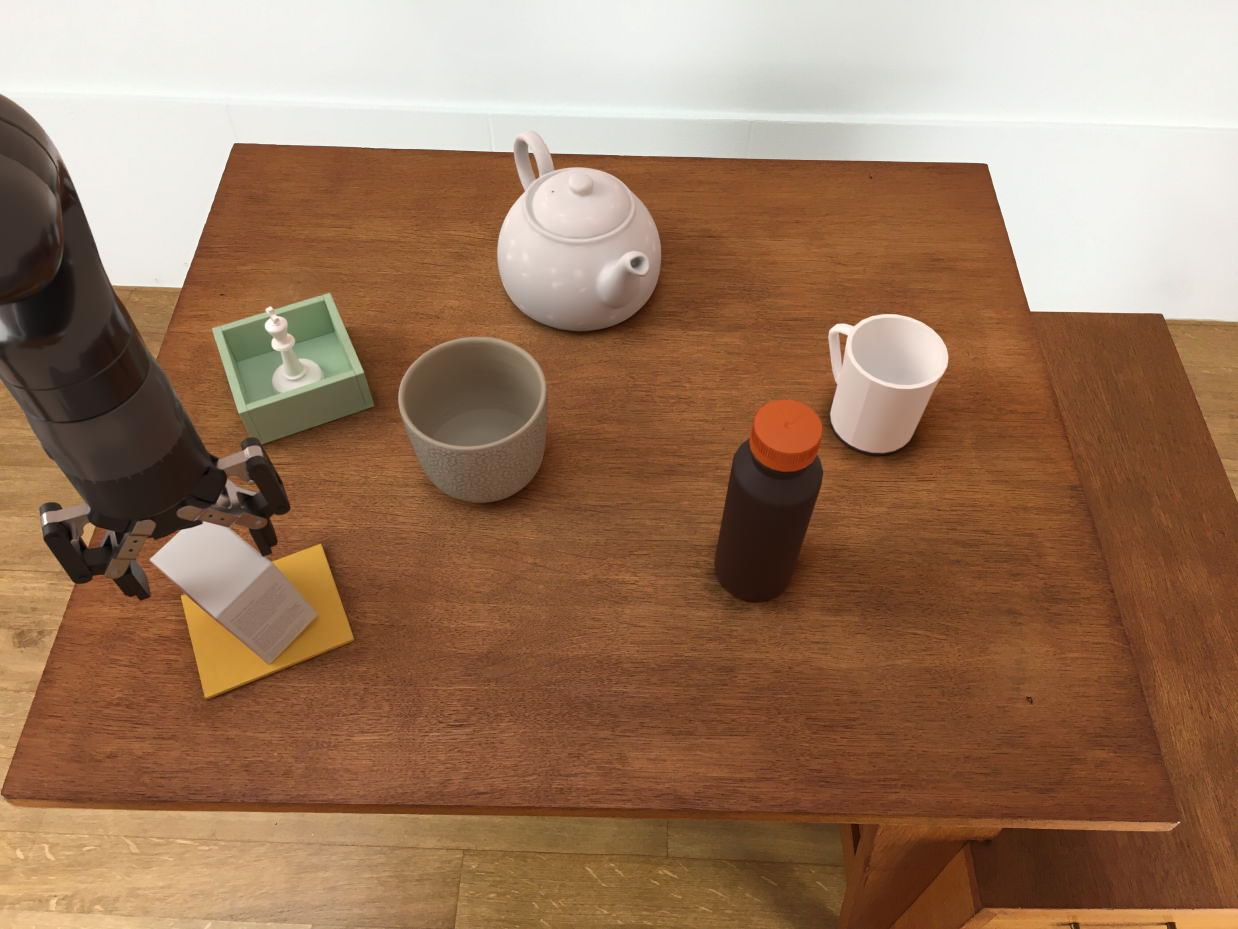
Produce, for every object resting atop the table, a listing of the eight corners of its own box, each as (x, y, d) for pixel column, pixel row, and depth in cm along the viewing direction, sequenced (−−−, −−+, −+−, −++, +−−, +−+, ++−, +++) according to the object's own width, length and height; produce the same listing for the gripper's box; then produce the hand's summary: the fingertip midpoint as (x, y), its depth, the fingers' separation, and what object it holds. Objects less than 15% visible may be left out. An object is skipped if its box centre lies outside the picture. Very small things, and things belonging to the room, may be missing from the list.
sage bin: (255, 447, 91) (238, 413, 86) (228, 362, 97) (211, 328, 93) (374, 406, 94) (364, 372, 89) (341, 327, 100) (330, 292, 96)
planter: (410, 427, 92) (389, 349, 83) (537, 403, 94) (530, 325, 85) (428, 534, 85) (407, 462, 76) (565, 506, 87) (560, 433, 78)
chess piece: (288, 408, 93) (257, 336, 84) (263, 378, 95) (231, 305, 87) (333, 384, 94) (307, 311, 86) (308, 355, 97) (281, 281, 89)
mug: (934, 418, 93) (966, 345, 85) (887, 476, 89) (916, 405, 81) (837, 364, 97) (859, 289, 89) (789, 416, 93) (807, 343, 85)
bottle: (728, 524, 86) (756, 377, 70) (801, 550, 85) (848, 405, 68) (702, 587, 82) (726, 446, 66) (778, 614, 81) (822, 477, 65)
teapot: (681, 238, 108) (690, 133, 97) (643, 357, 98) (648, 254, 87) (522, 210, 111) (513, 104, 100) (468, 322, 100) (451, 218, 89)
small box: (206, 611, 80) (145, 558, 71) (257, 562, 82) (203, 504, 73) (269, 668, 77) (213, 620, 68) (321, 615, 79) (273, 562, 70)
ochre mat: (206, 700, 76) (204, 698, 76) (182, 597, 81) (180, 595, 81) (354, 640, 79) (353, 638, 79) (322, 545, 84) (321, 543, 84)
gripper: (226, 346, 60) (291, 494, 73) (-21, 419, 56) (94, 562, 69) (253, 432, 56) (316, 573, 69) (-10, 516, 52) (109, 648, 65)
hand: (205, 567), depth 69 cm, fingers open, 8 cm apart
